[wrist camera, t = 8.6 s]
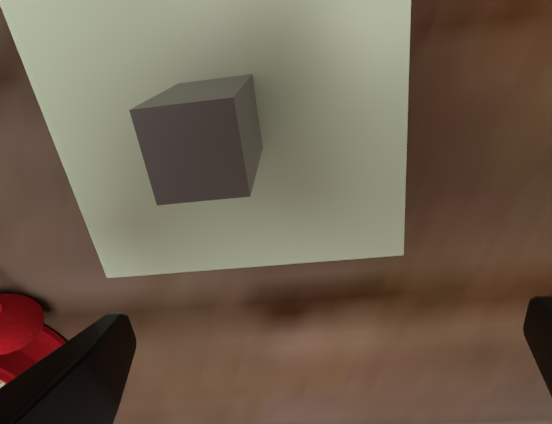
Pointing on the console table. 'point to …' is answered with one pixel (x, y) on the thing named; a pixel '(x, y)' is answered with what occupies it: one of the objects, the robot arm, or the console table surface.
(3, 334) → the alarm clock
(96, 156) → the cover sheet
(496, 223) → the console table surface
